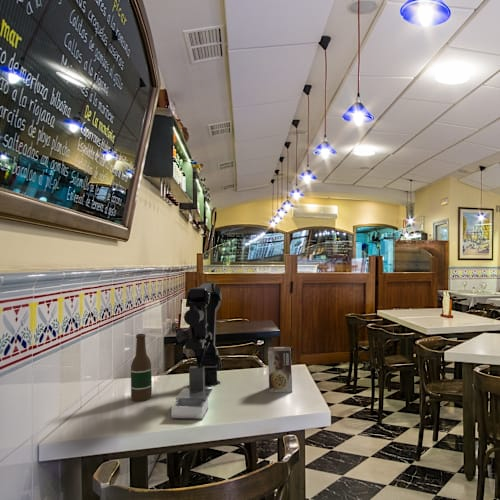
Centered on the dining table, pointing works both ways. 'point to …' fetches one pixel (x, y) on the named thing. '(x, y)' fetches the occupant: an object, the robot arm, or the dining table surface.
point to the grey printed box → (280, 369)
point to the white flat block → (189, 409)
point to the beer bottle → (141, 372)
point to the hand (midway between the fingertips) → (199, 363)
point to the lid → (195, 386)
